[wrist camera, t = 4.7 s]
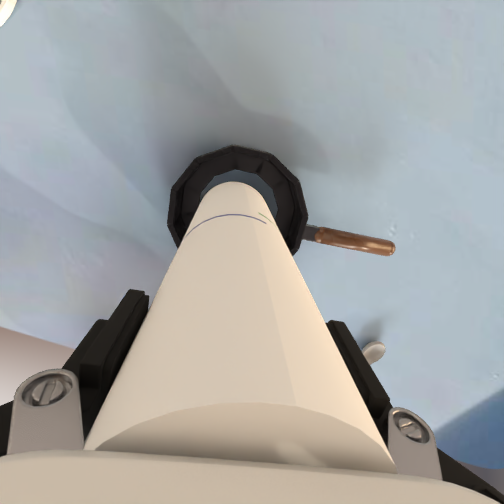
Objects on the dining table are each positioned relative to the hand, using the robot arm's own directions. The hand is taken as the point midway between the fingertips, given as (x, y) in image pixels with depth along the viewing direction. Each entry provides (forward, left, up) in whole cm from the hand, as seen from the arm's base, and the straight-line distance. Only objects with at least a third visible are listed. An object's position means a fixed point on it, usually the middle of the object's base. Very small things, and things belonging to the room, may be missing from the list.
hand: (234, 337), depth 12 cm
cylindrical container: (0, 0, -19) cm, 19 cm away
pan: (0, +6, -24) cm, 24 cm away
